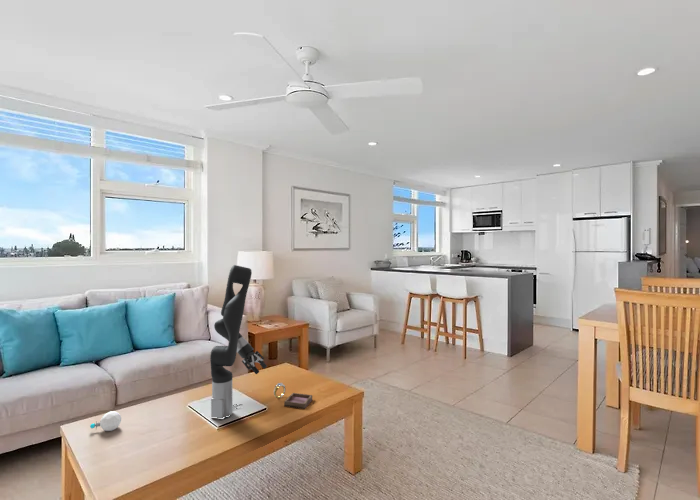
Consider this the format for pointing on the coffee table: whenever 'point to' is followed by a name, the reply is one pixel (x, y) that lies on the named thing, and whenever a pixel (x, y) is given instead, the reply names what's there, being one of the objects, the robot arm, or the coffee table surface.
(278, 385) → the ring
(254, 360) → the robot arm
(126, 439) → the coffee table surface
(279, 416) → the coffee table surface
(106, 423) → the perfume bottle
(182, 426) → the coffee table surface
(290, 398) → the jewellery tray
